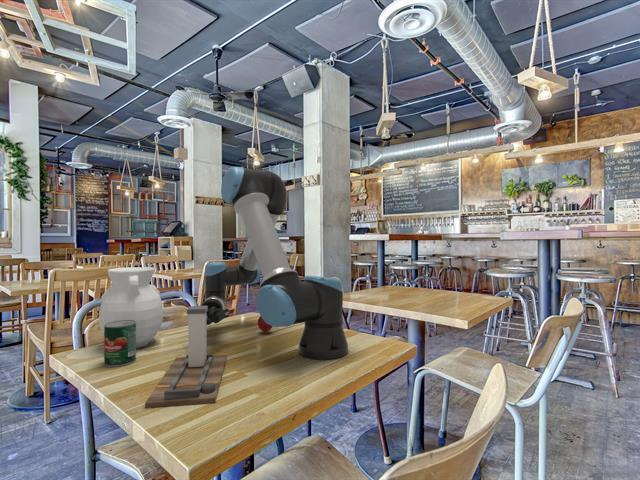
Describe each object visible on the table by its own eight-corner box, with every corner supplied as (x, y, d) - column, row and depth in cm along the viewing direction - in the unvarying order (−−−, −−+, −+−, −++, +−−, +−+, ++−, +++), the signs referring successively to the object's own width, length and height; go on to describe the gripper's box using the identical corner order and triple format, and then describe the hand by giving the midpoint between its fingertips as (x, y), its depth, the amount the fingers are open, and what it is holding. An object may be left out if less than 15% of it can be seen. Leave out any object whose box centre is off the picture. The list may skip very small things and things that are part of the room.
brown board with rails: (176, 361, 101) (176, 352, 101) (226, 358, 103) (226, 349, 103) (145, 407, 73) (145, 395, 73) (215, 402, 76) (215, 390, 76)
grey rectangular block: (190, 361, 97) (190, 306, 97) (207, 360, 98) (207, 305, 98) (186, 367, 93) (186, 309, 92) (205, 366, 93) (205, 309, 93)
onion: (260, 330, 134) (260, 309, 134) (275, 331, 133) (275, 309, 133) (255, 334, 128) (255, 312, 128) (270, 335, 128) (270, 313, 127)
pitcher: (100, 341, 120) (100, 267, 120) (160, 334, 129) (160, 265, 129) (97, 358, 103) (97, 272, 103) (166, 348, 113) (166, 269, 112)
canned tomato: (101, 368, 95) (101, 327, 95) (106, 359, 102) (106, 321, 102) (134, 364, 98) (134, 325, 98) (137, 355, 105) (137, 318, 105)
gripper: (231, 318, 126) (225, 337, 103) (192, 320, 124) (177, 339, 100) (231, 297, 126) (224, 311, 103) (192, 298, 124) (177, 313, 100)
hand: (201, 325), depth 101 cm, fingers closed
